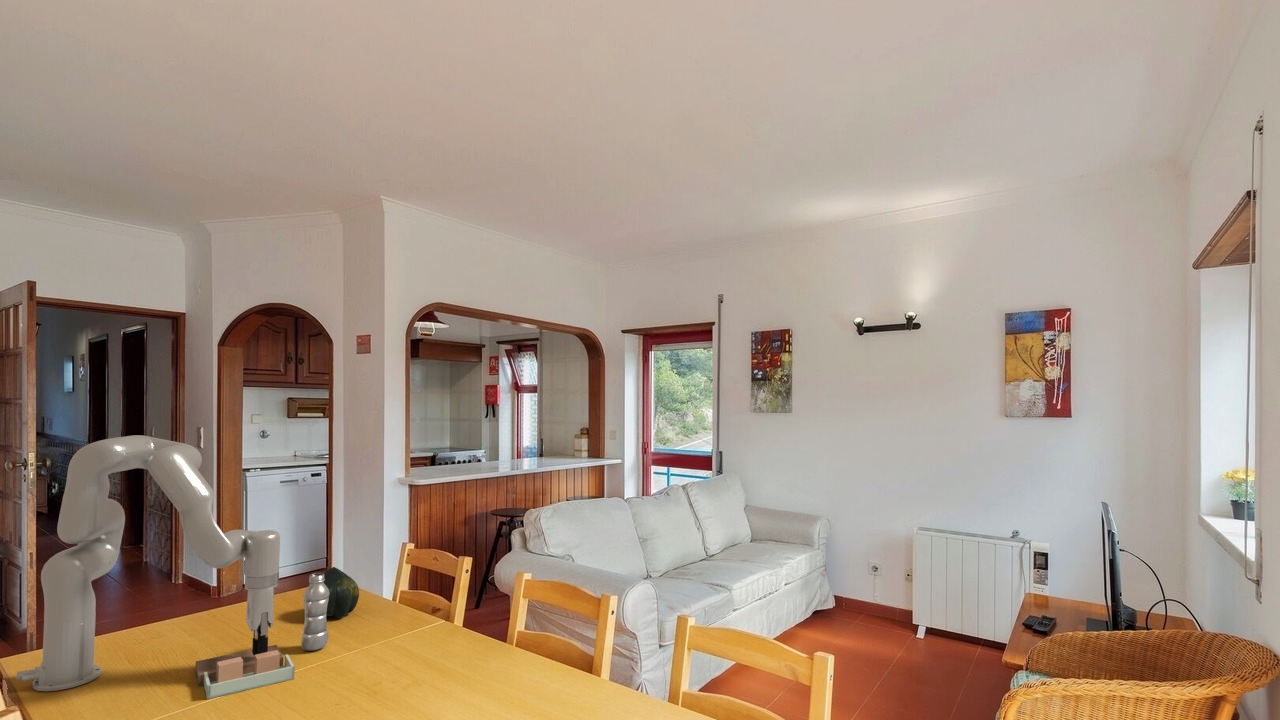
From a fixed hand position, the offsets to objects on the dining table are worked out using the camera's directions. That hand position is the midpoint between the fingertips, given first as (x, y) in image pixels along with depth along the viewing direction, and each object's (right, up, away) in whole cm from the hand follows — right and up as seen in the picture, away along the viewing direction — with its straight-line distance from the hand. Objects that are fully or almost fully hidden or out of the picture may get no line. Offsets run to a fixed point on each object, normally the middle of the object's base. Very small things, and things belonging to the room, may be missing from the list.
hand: (259, 653), depth 168 cm
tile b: (+3, -1, -4) cm, 5 cm away
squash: (0, -5, +38) cm, 39 cm away
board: (-5, -4, -1) cm, 6 cm away
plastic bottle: (+8, -5, +13) cm, 15 cm away
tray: (+2, -4, -8) cm, 9 cm away
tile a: (-3, -1, -8) cm, 8 cm away
